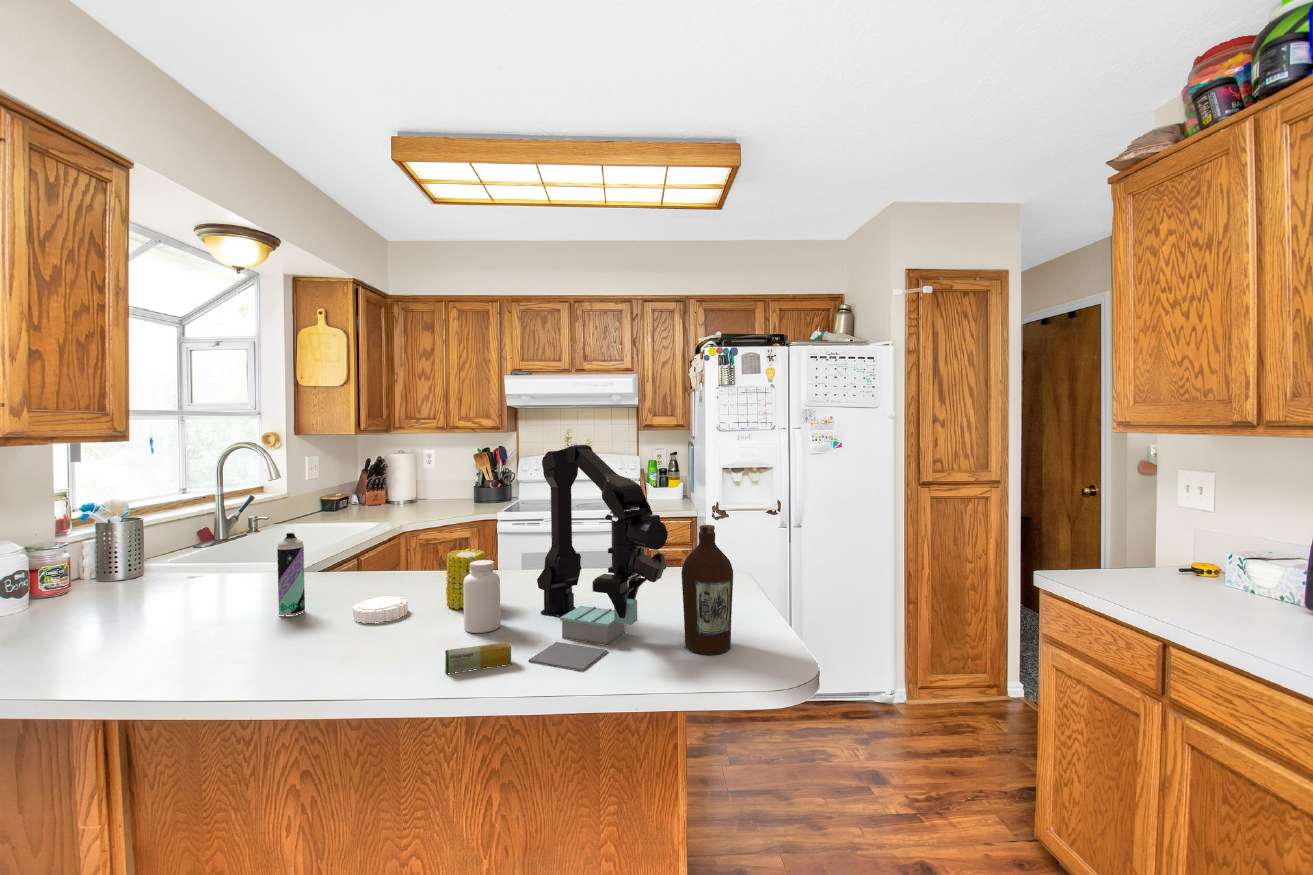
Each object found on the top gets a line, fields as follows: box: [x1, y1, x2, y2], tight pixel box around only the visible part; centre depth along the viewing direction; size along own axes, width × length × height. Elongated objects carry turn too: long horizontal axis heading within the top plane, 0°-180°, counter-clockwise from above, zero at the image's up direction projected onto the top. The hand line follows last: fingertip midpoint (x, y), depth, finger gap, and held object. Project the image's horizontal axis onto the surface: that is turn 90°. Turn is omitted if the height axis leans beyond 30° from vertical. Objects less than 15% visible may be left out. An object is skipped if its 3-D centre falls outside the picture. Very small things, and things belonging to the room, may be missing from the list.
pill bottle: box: [463, 559, 501, 634], centre depth 131 cm, size 8×8×15 cm
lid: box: [559, 599, 638, 627], centre depth 125 cm, size 16×9×5 cm, turn 67°
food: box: [445, 547, 486, 611], centre depth 148 cm, size 15×12×10 cm
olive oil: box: [681, 524, 734, 656], centre depth 119 cm, size 11×11×25 cm
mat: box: [528, 641, 608, 672], centre depth 115 cm, size 12×10×1 cm
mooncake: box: [352, 595, 409, 624], centre depth 141 cm, size 12×12×4 cm
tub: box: [561, 620, 626, 646], centre depth 126 cm, size 11×8×4 cm
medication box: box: [444, 641, 512, 675], centre depth 110 cm, size 12×3×4 cm, turn 111°
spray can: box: [276, 532, 306, 616], centre depth 143 cm, size 6×6×20 cm
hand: (625, 615), depth 123 cm, fingers closed on lid, 3 cm apart
